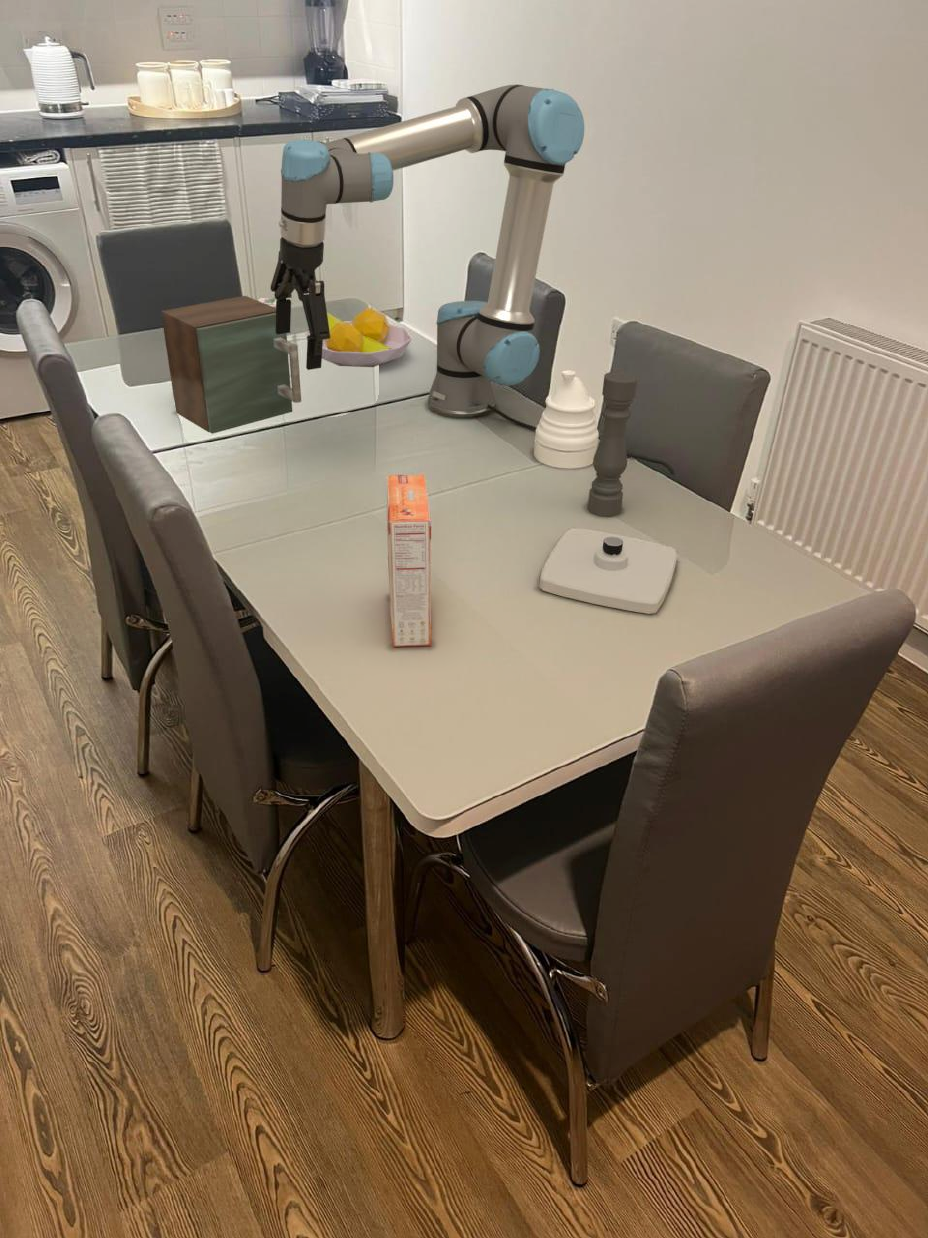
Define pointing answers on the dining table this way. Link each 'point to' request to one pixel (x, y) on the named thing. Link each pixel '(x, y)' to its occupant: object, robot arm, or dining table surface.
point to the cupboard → (186, 351)
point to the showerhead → (609, 570)
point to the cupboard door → (247, 372)
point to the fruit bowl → (363, 340)
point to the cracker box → (409, 559)
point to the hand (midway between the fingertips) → (297, 350)
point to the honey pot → (567, 426)
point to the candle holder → (612, 444)
